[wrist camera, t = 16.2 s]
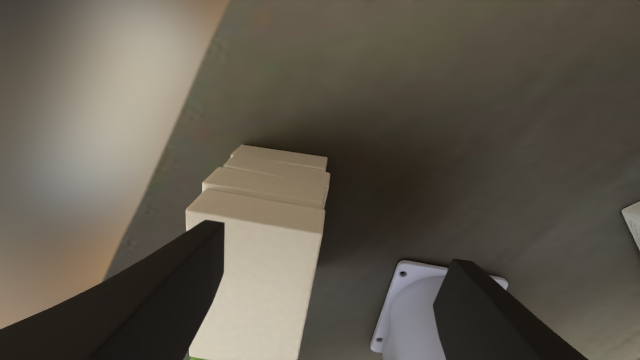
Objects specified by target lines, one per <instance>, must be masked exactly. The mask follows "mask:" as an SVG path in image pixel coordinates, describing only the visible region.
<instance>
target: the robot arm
mask: <svg viewBox="0 0 640 360" xmlns="http://www.w3.org/2000/svg"><path fill="white" fill-rule="evenodd" d="M224 239H225V222H218V221H212V220H206V219H205V220H204V221H202V222H200V223H199V224H197V225H196V226H194V227H193V228H191V229H190V230H188V231H187V232H185V233H183V234H182V235H180V236H179V237H177V238H176V239H174V240H173V241H171V242H170V243H168V244H166V245H165V246H163V247H162V248H160V249H159V250H157V251H155V252H154V253H152V254H151V255H149V256H147V257H146V258H144V259H142V260H141V261H139V262H137V263H135V264H134V265H132V266H130V267H128V268H127V269H125V270H123V271H121V272H120V273H118V274H116V275H115V276H113V277H111V278H109V279H107V280H106V281H104V282H102V283H100V284H98V285H96V286H94V287H92V288H90V289H88V290H86V291H85V292H82V293H80V294H78V295H76V296H74V297H72V298H70V299H68V300H66V301H64V302H62V303H60V304H58V305H55V306H53V307H52V308H49V309H47V310H45V311H42V312H40V313H38V314H35V315H33V316H31V317H28V318H26V319H24V320H21V321H19V322H17V323H14V324H12V325H10V326H7V327H5V328H3V329H0V360H183V359H184V357H185V355H186V353H187V351H188V349H189V347H190V345H191V343H192V341H193V340H194V338H195V336H196V334H197V332H198V330H199V328H200V326H201V324H202V322H203V321H204V319H205V317H206V315H207V313H208V311H209V309H210V307H211V305H212V303H213V301H214V298H215V295H216V293H217V290H218V288H219V285H220V282H221V280H222V277H223V274H224ZM402 271H405V273H400V272H402ZM507 287H508V282H507V281H506V280H505V279H504V278H502V277H496V276H491V275H488V274H487V273H486V272H485V271H484V270H482V269H481V268H480V267H479V266H477V265H476V264H475V263H474V262H472V261H467V260H460V259H454V258H453V259H452V262H451V264H450V266H449V268H446V267H441V266H435V265H430V264H424V263H419V262H413V261H408V260H402V261H400V262H399V263H398V264H397V267H396V270H395V273H394V276H393V279H392V282H391V285H390V288H389V291H388V293H387V296H386V299H385V302H384V305H383V308H382V311H381V314H380V317H379V320H378V322H377V325H376V328H375V331H374V334H373V337H372V340H371V343H370V347H371V350H373V351H375V352H380V353H382V356H383V360H588V359H587V358H586V357H584V356H583V355H582V354H581V353H579V352H578V351H577V350H576V349H574V348H573V347H572V346H571V345H569V344H568V343H567V342H566V341H565V340H563V339H562V338H561V337H560V336H558V335H557V334H556V333H555V332H554V331H552V330H551V329H550V328H549V327H548V326H547V325H545V324H544V323H543V322H542V321H541V320H539V319H538V318H537V317H536V316H535V315H534V314H533V313H531V312H530V311H529V310H528V309H527V308H526V307H525V306H523V305H522V304H521V303H520V302H519V301H518V300H517V299H515V298H514V297H513V296H512V295H511V294H510V293H509V292H508V291H506V289H507Z"/></svg>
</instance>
